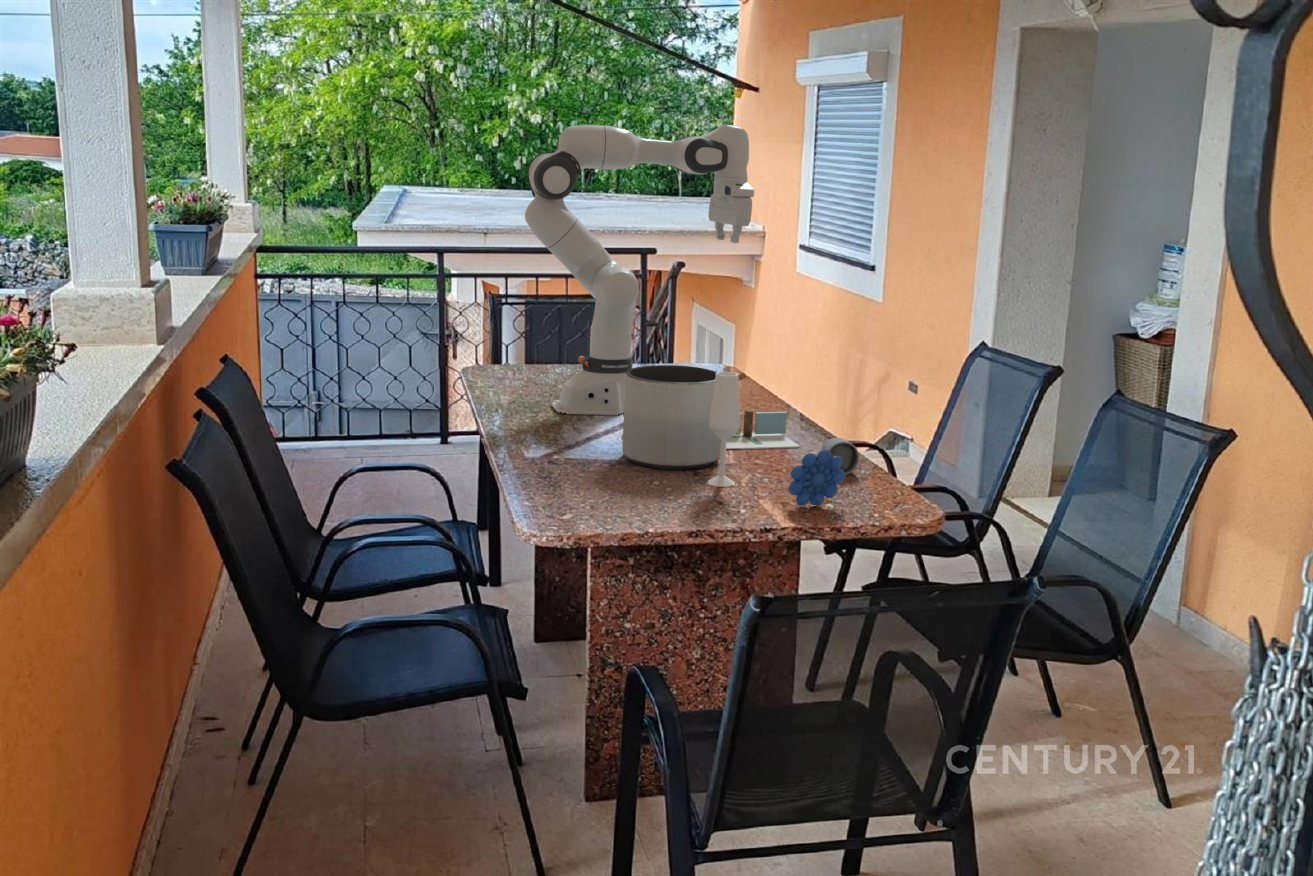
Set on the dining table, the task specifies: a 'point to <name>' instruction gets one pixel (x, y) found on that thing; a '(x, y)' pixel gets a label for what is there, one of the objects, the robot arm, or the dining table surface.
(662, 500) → the dining table surface
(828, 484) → the grapes
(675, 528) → the dining table surface
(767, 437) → the card
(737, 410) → the champagne flute
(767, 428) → the light blue rectangular panel
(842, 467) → the ceramic mug
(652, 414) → the planter
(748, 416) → the pine fence section
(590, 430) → the dining table surface
